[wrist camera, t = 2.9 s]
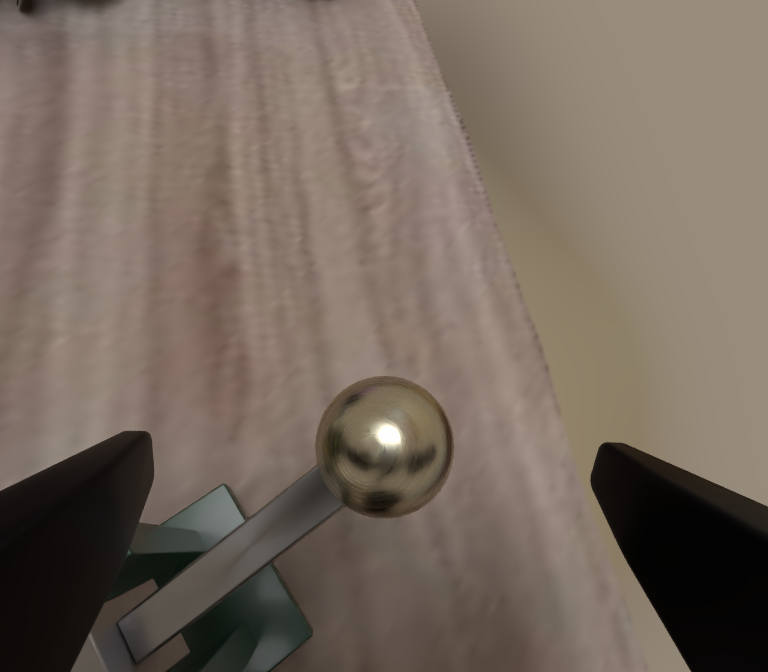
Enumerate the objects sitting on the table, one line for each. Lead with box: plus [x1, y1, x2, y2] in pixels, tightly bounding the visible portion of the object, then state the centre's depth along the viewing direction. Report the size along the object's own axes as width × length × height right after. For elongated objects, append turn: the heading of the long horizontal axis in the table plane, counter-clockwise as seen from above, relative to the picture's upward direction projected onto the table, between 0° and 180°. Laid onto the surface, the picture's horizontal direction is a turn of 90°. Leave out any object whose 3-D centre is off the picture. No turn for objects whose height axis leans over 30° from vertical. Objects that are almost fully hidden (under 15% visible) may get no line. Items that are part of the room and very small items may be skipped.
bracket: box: [106, 484, 313, 672], centre depth 14 cm, size 8×7×10 cm
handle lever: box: [71, 376, 454, 672], centre depth 11 cm, size 12×3×3 cm, turn 127°
